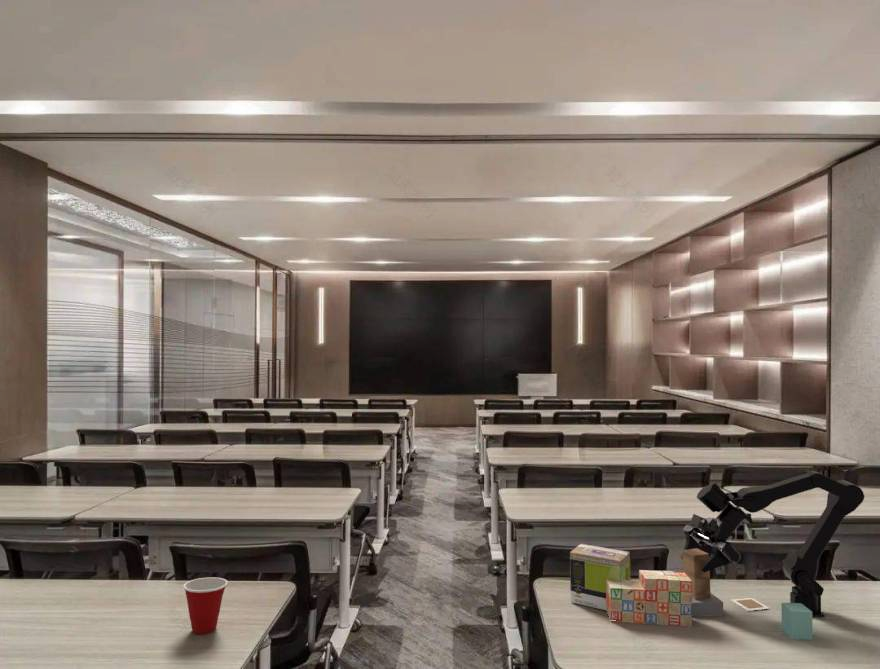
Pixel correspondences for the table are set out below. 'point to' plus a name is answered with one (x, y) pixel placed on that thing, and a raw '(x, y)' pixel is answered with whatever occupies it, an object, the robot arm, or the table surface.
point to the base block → (707, 606)
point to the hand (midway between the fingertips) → (692, 565)
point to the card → (750, 604)
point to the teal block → (797, 621)
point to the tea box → (596, 573)
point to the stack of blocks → (651, 599)
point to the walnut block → (697, 572)
